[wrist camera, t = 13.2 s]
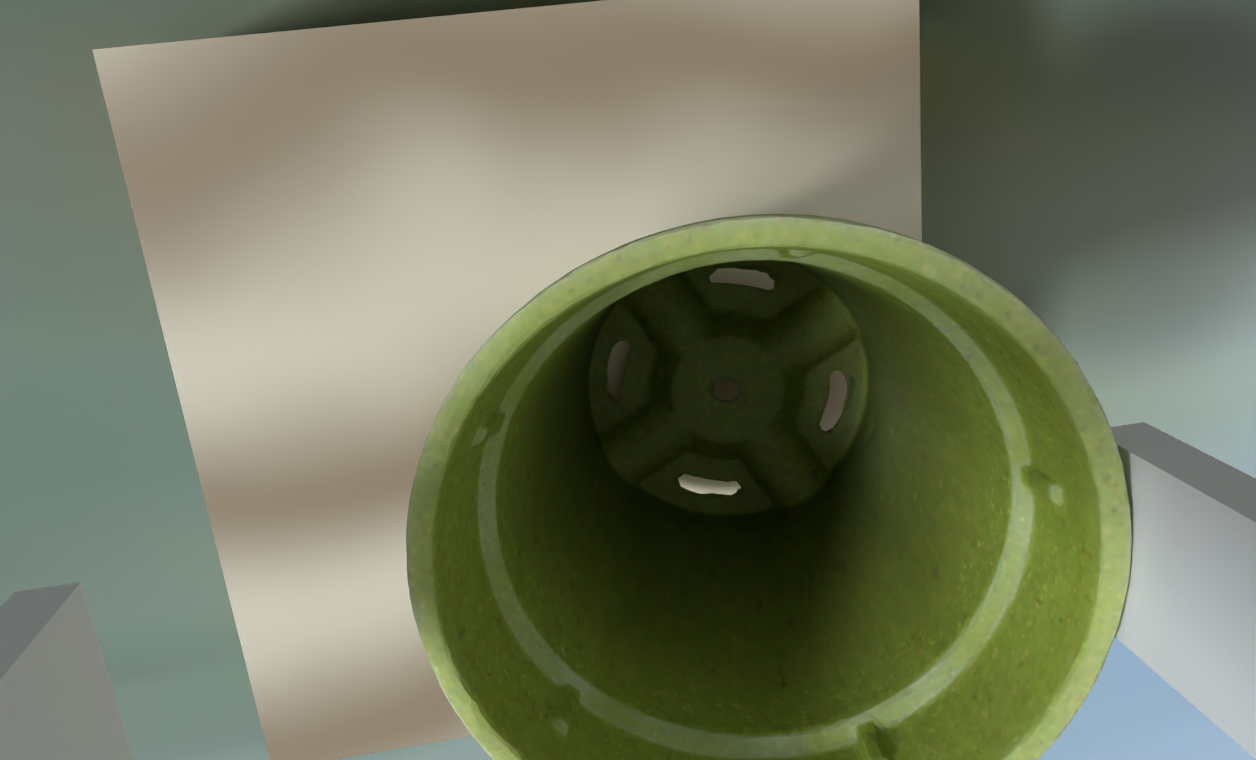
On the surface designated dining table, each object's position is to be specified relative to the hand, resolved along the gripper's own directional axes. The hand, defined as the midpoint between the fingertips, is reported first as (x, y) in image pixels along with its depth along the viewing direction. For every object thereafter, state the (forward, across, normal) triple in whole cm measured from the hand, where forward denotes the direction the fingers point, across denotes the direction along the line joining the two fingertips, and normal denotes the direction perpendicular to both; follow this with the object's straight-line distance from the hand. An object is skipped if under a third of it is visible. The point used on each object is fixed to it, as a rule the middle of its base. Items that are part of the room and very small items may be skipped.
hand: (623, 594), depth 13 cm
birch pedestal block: (+14, 0, 0) cm, 14 cm away
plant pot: (+8, +4, 0) cm, 9 cm away
